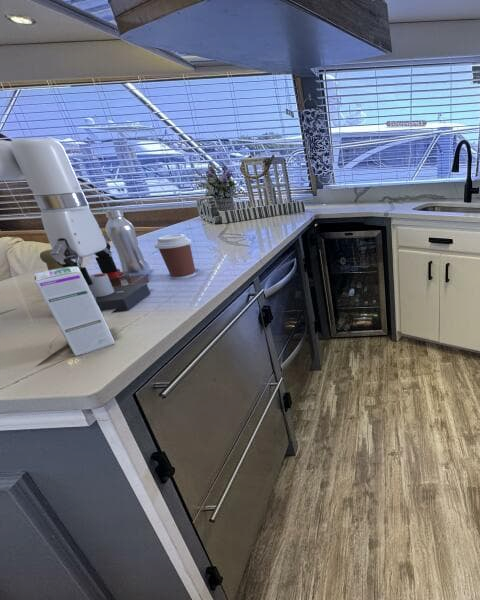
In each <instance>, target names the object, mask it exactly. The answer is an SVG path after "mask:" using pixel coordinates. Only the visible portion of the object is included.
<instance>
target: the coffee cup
mask: <svg viewBox="0 0 480 600" xmlns="http://www.w3.org/2000/svg"><path fill="white" fill-rule="evenodd" d="M156 240H157V241H156V243H155V244H154V248H155V249H157V250H158V251H159V253H160V255H161V257H162V259H163V262H164V264H165V266H166V268H167V271H168V273H169V275H170V278H171V279H173V280H183V279H187V278H191V277H194V276H195V275H197V271H196V267H195V266H196V265H195V262H194V257H193V253H192V248H191V244H193V242H192V239H189V238H188V237H187V235H186V234H183V233H177V234H176V233H175V234H168V235H162V236H160V237H157V239H156Z"/></svg>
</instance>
